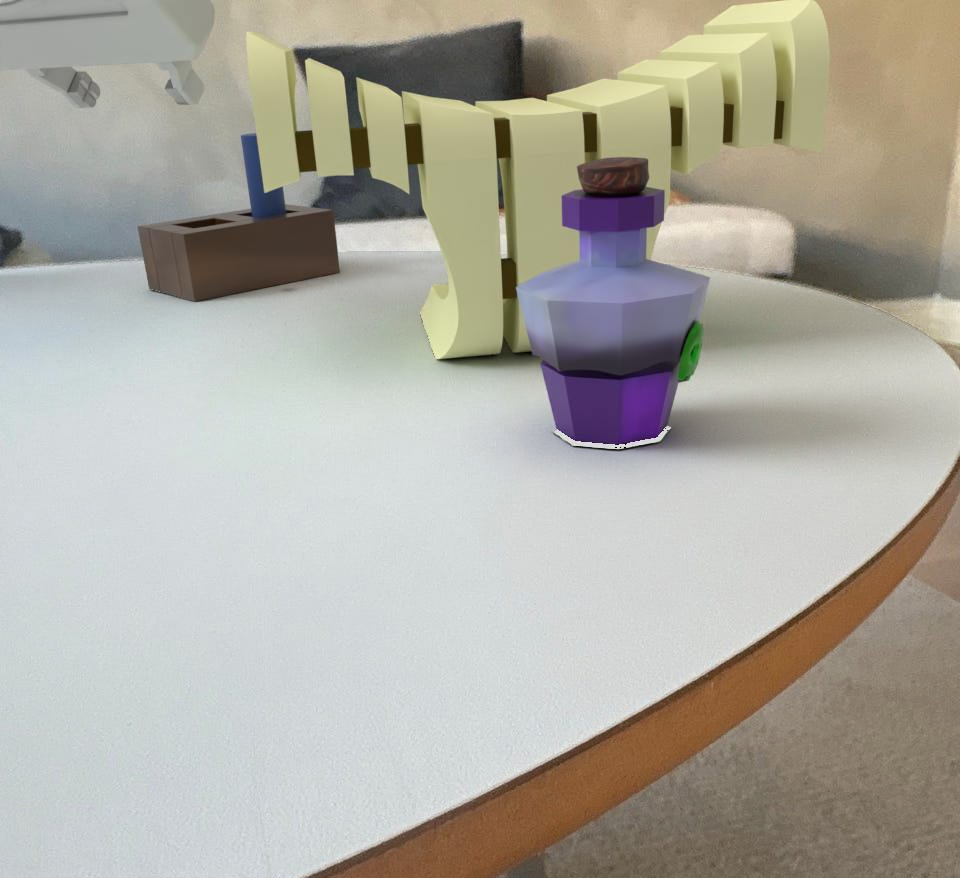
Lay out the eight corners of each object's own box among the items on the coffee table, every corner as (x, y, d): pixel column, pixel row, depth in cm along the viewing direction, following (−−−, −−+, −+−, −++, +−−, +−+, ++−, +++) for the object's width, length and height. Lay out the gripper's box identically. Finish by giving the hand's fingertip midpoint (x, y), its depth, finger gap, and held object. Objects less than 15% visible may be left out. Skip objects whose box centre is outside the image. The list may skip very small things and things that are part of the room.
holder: (149, 289, 89) (136, 226, 87) (290, 262, 97) (282, 203, 94) (194, 301, 83) (183, 234, 81) (340, 272, 91) (333, 209, 89)
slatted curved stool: (290, 387, 61) (242, 29, 53) (297, 323, 75) (260, 33, 67) (806, 342, 64) (836, -5, 55) (719, 288, 78) (732, 5, 70)
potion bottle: (720, 457, 47) (735, 163, 42) (523, 466, 48) (512, 175, 42) (689, 398, 55) (698, 143, 50) (519, 406, 55) (510, 154, 50)
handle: (254, 276, 92) (233, 135, 87) (282, 270, 93) (264, 132, 88) (271, 279, 90) (252, 136, 85) (300, 274, 92) (282, 132, 87)
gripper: (146, -137, 60) (276, 55, 72) (-101, -99, 68) (52, 67, 80) (103, -46, 58) (244, 134, 70) (-143, -19, 67) (20, 137, 79)
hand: (140, 98), depth 75 cm, fingers open, 8 cm apart
